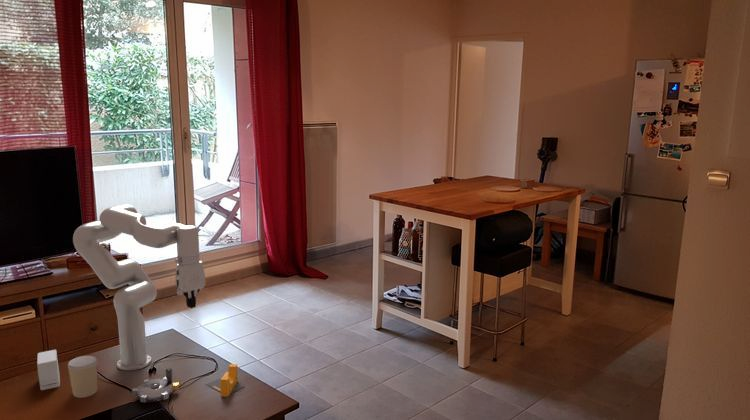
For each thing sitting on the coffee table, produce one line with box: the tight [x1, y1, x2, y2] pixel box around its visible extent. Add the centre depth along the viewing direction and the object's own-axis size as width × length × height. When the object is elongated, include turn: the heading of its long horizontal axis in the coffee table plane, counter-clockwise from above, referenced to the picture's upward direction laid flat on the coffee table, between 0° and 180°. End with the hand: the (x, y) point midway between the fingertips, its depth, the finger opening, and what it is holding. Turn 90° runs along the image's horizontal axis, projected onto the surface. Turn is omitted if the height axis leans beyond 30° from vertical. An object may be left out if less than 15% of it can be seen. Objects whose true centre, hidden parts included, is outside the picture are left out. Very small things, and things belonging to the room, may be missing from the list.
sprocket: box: [131, 367, 180, 403], centre depth 205 cm, size 15×14×7 cm
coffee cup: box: [67, 355, 98, 398], centre depth 206 cm, size 9×9×12 cm
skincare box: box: [36, 349, 61, 391], centre depth 213 cm, size 10×6×10 cm, turn 29°
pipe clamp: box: [220, 363, 239, 398], centre depth 211 cm, size 12×4×6 cm, turn 177°
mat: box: [205, 377, 245, 394], centre depth 213 cm, size 12×8×1 cm, turn 51°
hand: (191, 306), depth 216 cm, fingers closed
